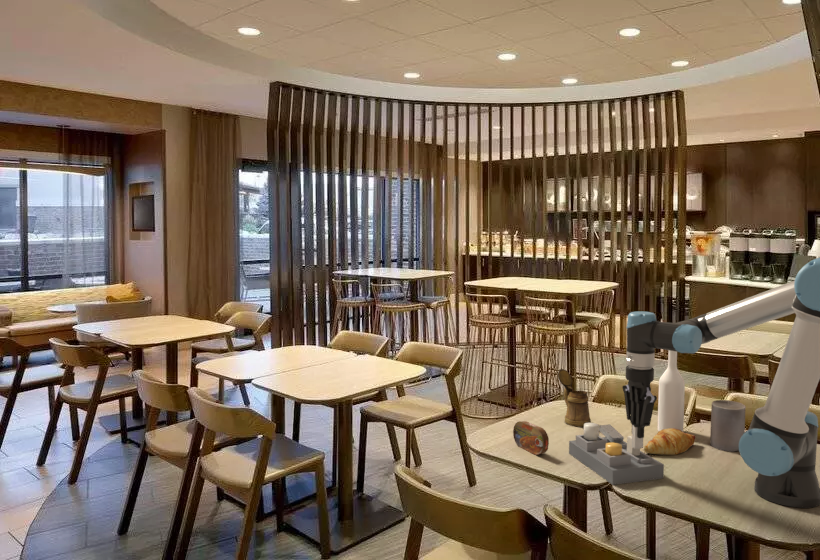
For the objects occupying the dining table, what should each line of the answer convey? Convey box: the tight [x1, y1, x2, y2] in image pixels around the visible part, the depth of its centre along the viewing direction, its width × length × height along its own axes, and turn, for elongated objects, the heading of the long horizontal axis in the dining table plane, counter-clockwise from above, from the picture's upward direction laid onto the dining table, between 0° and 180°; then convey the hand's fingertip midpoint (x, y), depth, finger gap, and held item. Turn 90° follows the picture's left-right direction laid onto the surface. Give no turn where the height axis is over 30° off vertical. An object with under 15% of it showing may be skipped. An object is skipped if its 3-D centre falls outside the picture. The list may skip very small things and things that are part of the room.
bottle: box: [657, 350, 686, 432], centre depth 213 cm, size 8×8×30 cm
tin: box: [512, 420, 550, 456], centre depth 198 cm, size 15×3×8 cm, turn 27°
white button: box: [583, 422, 600, 441], centre depth 189 cm, size 4×4×4 cm
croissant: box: [643, 428, 697, 456], centre depth 197 cm, size 21×10×8 cm
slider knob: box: [626, 435, 641, 456], centre depth 182 cm, size 3×3×5 cm
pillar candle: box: [709, 399, 746, 452], centre depth 199 cm, size 10×10×15 cm
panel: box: [568, 434, 665, 486], centre depth 185 cm, size 24×16×7 cm, turn 15°
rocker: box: [599, 424, 625, 443], centre depth 193 cm, size 8×4×2 cm, turn 15°
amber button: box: [605, 442, 622, 456], centre depth 178 cm, size 4×4×4 cm
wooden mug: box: [557, 368, 592, 428], centre depth 225 cm, size 9×14×18 cm, turn 30°
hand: (637, 447), depth 180 cm, fingers closed
